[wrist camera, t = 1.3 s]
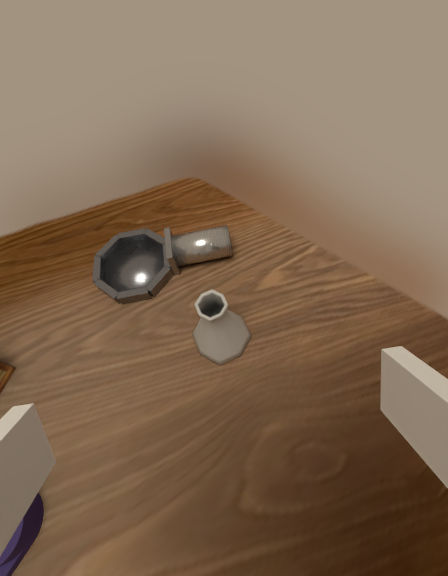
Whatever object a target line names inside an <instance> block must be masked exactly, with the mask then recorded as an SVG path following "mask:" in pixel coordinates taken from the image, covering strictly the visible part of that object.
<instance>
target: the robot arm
mask: <svg viewBox="0 0 448 576" xmlns="http://www.w3.org/2000/svg"><path fill="white" fill-rule="evenodd" d="M380 410H381V411H382V412H383V413H384V415H385V416H386V417H387V418H388V419H389V421H390V422H391V423H392V424H393V425H394V426H395V428H396V429H397V430H398V431H399V432H400V433H401V435H402V436H403V437H404V438H405V439H406V440H407V442H408V443H409V444H410V445H411V446H412V447H413V449H414V450H415V451H416V452H417V453H418V454H419V456H420V457H421V458H422V459H423V460H424V461H425V463H426V464H427V465H428V466H429V467H430V468H431V470H432V471H433V472H434V473H435V474H436V475H437V477H438V478H439V479H440V480H441V481H442V482H443V484H444V485H445V486H446V487H447V488H448V379H447V378H445V377H444V376H442V375H441V374H440V373H438V372H437V371H435V370H434V369H433V368H431V367H430V366H428V365H427V364H426V363H424V362H423V361H421V360H420V359H419V358H417V357H416V356H414V355H413V354H412V353H410V352H409V351H407V350H406V349H405V348H403V347H402V346H399V347H392V348H386V349H381V409H380ZM55 463H56V460H55V457H54V455H53V452H52V450H51V447H50V444H49V442H48V439H47V437H46V434H45V431H44V429H43V426H42V424H41V421H40V418H39V416H38V413H37V411H36V408H35V405H34V403H33V404H27V405H20V406H14V407H12V408H11V409H10V410H9V411H8V412H7V413H6V414H5V415H4V416H3V417H2V418H1V419H0V556H1V554H2V553H3V551H4V549H5V548H6V546H7V544H8V542H9V541H10V539H11V537H12V536H13V534H14V532H15V531H16V529H17V527H18V526H19V524H20V522H21V520H22V519H23V517H24V515H25V514H26V512H27V510H28V509H29V507H30V505H31V504H32V502H33V500H34V498H35V497H36V495H37V493H38V492H39V490H40V488H41V487H42V485H43V483H44V482H45V480H46V478H47V476H48V475H49V473H50V471H51V470H52V468H53V466H54V465H55Z"/></svg>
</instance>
